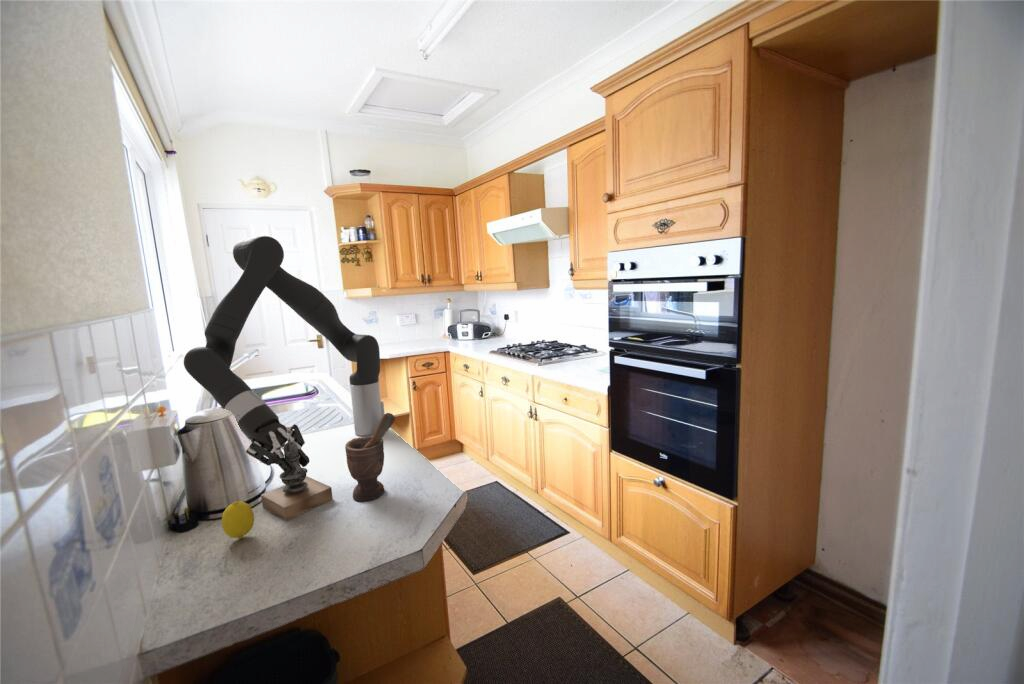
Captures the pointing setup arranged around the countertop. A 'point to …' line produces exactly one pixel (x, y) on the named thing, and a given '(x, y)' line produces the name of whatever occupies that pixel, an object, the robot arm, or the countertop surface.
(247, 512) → the lemon
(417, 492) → the countertop surface
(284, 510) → the walnut plinth
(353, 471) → the mortar and pestle
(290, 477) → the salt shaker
